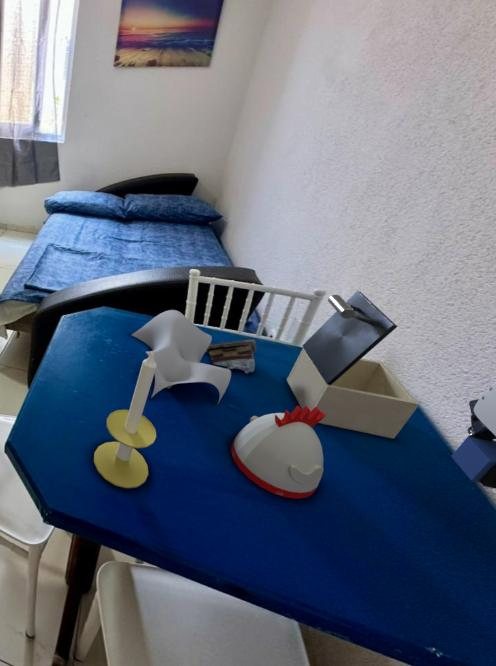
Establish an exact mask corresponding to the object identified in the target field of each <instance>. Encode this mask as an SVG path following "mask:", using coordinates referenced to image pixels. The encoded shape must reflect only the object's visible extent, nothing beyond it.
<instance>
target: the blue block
mask: <svg viewBox="0 0 496 666" xmlns="http://www.w3.org/2000/svg"><path fill="white" fill-rule="evenodd" d="M450 457H451V459H453V461H454V462H455V463H456V465H458V466H459V468H460V469H461V470H462V471H463V473H464V474H465V475H466V476H467V477H468V479H469V480H470V481H471V482H474V483H479V484H481V483H480V481H481V479H482V478H483V477H484V476H485V475H486V474H487V473H488V472H489V471H490V470H491V469H492V467H493V466H494V465H496V442H493V441H487V440H482V439H477V438H472V437H468V436H466V438H465V439H464V440H463V442H462V443H461V444H460V445H459V446H458V447H457V449H456V450H455V451H454V452H453V454H451V456H450Z"/></svg>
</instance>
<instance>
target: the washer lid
mask: <svg viewBox="0 0 496 666" xmlns="http://www.w3.org/2000/svg"><path fill="white" fill-rule="evenodd" d="M327 302H328V303H329V304H330V306H331V307H333V309H334V311H335V312H334V313H333V314H332V315H331V316H330V317H329V318H328V319H327V321H325V322H324V323H323V324H322V325H321V326H320V327H319V328H318V329H317V330H316V331H315V332H314V333H313V334H312V335H311V336H310V337H309V338H308V339H307V340H306V341H305V342H304V343H303V344H302V345H301V347H302V349H303V348H304V349H305V351H306V352H307V354H308V356H309V357H310V359H311V360H312V362H313V363H314V365H315V366H316V368H317V369H318V371H319V372H320V374H321V376H322V377H323V379H324V380H325V382H326V383H327V384H328V385H332V384H333V383H334V382H335V381H336V380H337V379H339V378H340V377H341V376H342V375H343V374H344V373H345V372H347V371H348V370H349V369H350V368H351V367H352V366H353V365H354V364H356V363H357V362H358V361H359V360H360V359H361V358H362V359H363V357H365V356H366V355H368V353H370V351H372V350H373V349H374V348H375V347H376V346H378V344H379V343H381V342H382V341H383V340H384V339H386V338H387V337H388V336H389V335H390V334H391V333H392V332H393V331H394V330H396V329H397V328H398V325H397V324H396V323H395V322H394V321H392V319H390V318H389V317H388V316H387V315H386V314H385V313H384V312H383V311H382V310H381V309H379V307H378V306H376V305H375V304H374V303H373V302H372V301H371V300H370V299H369V298H368V297H367V296H366V295H365V294H364V293H362V292H361V291H359V290H357V291H355V292H354V293H353V294H352V295H351V296H350V297H349V298H348V299H347V300H346V301H345V299H343V298H342V296H341V295H339V294H332V295H330V296H329V297H327Z"/></svg>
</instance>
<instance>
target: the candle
mask: <svg viewBox="0 0 496 666" xmlns="http://www.w3.org/2000/svg"><path fill="white" fill-rule="evenodd" d="M152 351H153V350H152ZM153 352H154V351H153ZM156 366H157V365H156V363H155V361H154V354H153V353H151V355H150V356H147V358H145V359H143V360H142V364H141V367H140V370H139V374H138V376H137V381H136V384H135V388H134V392H133V394H132V395H133V396H132V399H131V402H130V406H129V409H117V410H114V411H113V412H110V413H109V415H108V417H107V418H106V428H107V431H108V432H109V435H111V436H112V437H113V439H115V441H107V442H104V443H102V444H100V445H99V446H98V447H97V448H96V450H95V451H94V453H93V463H94V465H95V468H96V471H97V472H98V473H99V474H100V475H101V477H103V478H104V480H106V481H107V482H109V483H110V484H112V485H114V486H116V487H120V488H123V489H135V488H139V487H140V486H142V485H143V484H145V483H146V481H147V478H148V476H149V467H148V464H147V462H146V460H145V458H144V456H143V455H142V454H141V453H140V452H139V451H138V450H137V449H146V448H148V447H150V446H152V445H153V444H154V443H155V441H156V439H157V431H156V428H155V426H154V425H153V423H152V422H151V420H149V419H148V418H147V417H146V416H145V415H143V412H144V409H145V405H146V402H147V399H148V396H149V394H150V393H149V392H150V389H151V386H152V383H153V379H154V377H155V370H156Z"/></svg>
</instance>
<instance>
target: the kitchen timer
mask: <svg viewBox="0 0 496 666" xmlns="http://www.w3.org/2000/svg"><path fill="white" fill-rule="evenodd" d="M325 416H326V415H325V414H324V413H323V412H320V410H319V409H318V408H317V407H315V408H314V409H313V410H312V411H311V412H310V409H309V408H308V407H307V406H305V407H304V408H303V410H302V408H301V406H300V405H296V407H295V408H294V409H293V410H292V412H291V413H290V412H289V411H288V410H287V409H285V411H284V412H275V413H268V414H264V415H261V416H257V415H253V416H252V417H250V419H249V423H248V424H246V425H245V426H244V427H242V429H241V430H240V431H239V432H238V433H237V435H236V437H235V438H234V440H233V442H232V444H231V450H230V451H231V456H232V458H233V461H234V463H235V464H236V466H237V467H238V469H239V470H240V471H241V472H242V473H243V474H244V475H245V476H246V477H247V478H248V479H250V480H251V481H252V482H253V483H255V485H257V486H258V487H260V488H261V489H264V490H266V491H268V492H270V493H271V494H275V495H278V496H281V497H283V498H288V499H294V500H295V499H296V500H298V499H299V500H300V499H305V498H308V497H309V496H311V495H312V494H314V493H315V491H316V489H317V488H318V486H319V484H320V482H321V479H322V477H323V473H324V453H323V446H322V443H321V441H320V438H319V436H318V435H317V433H316V432H315V430H314V426H316V425H317V424H319V423H318V422H319V421H321V420H322V419H323V418H324V417H325Z"/></svg>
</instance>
